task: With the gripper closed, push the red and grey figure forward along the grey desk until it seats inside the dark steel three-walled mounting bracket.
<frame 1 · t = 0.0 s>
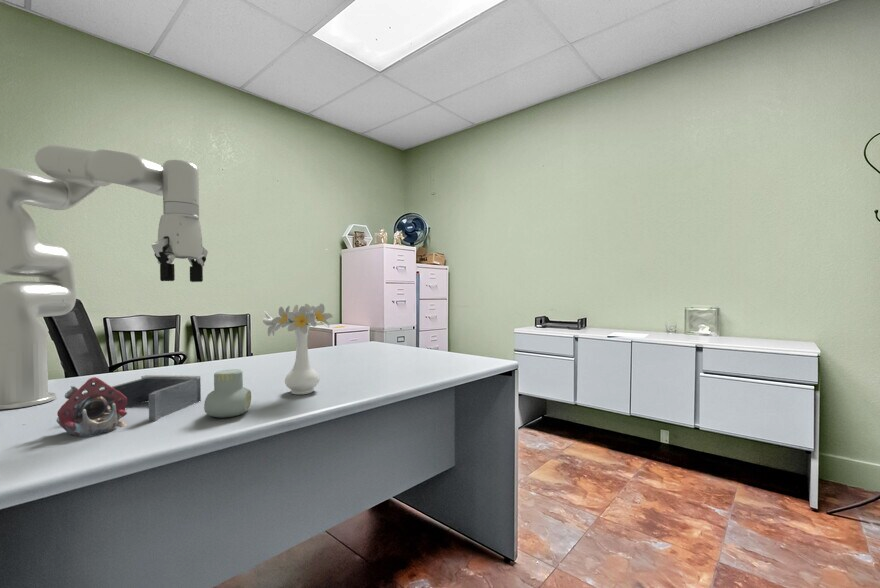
hand: (182, 281, 99), 31 cm above the table, tool pointing down, fingers open, 9 cm apart
bracket: (152, 408, 98), on the table
flower vase: (299, 393, 112), on the table
red and grey figure: (93, 431, 83), on the table
grey rounded piece: (229, 415, 93), on the table
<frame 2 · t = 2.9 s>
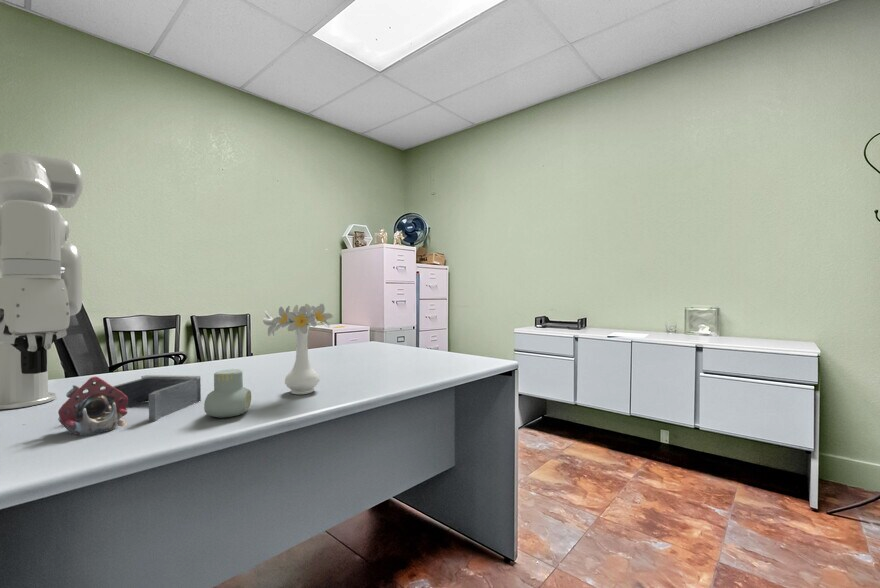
hand: (34, 372, 72), 14 cm above the table, tool pointing down, fingers closed
nothing on the table moved.
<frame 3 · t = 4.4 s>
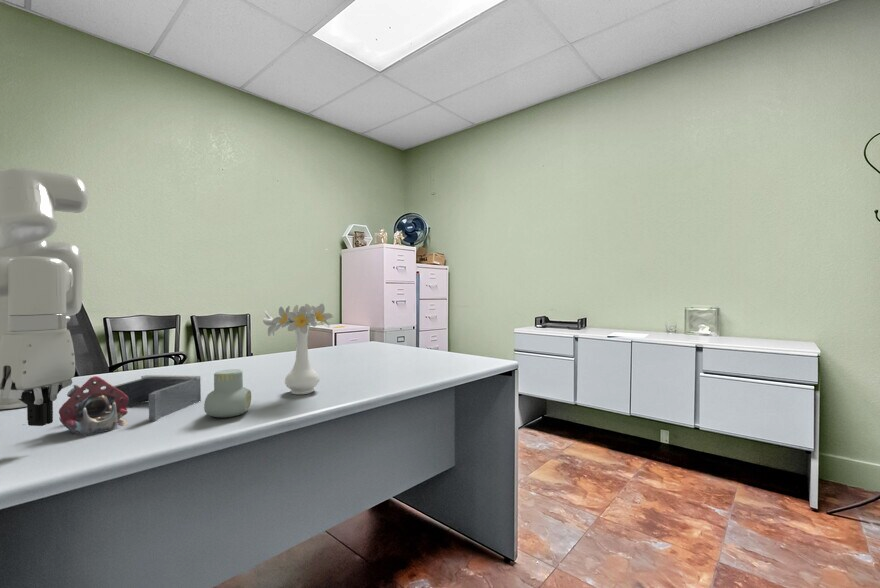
hand: (40, 424, 73), 5 cm above the table, tool pointing down, fingers closed
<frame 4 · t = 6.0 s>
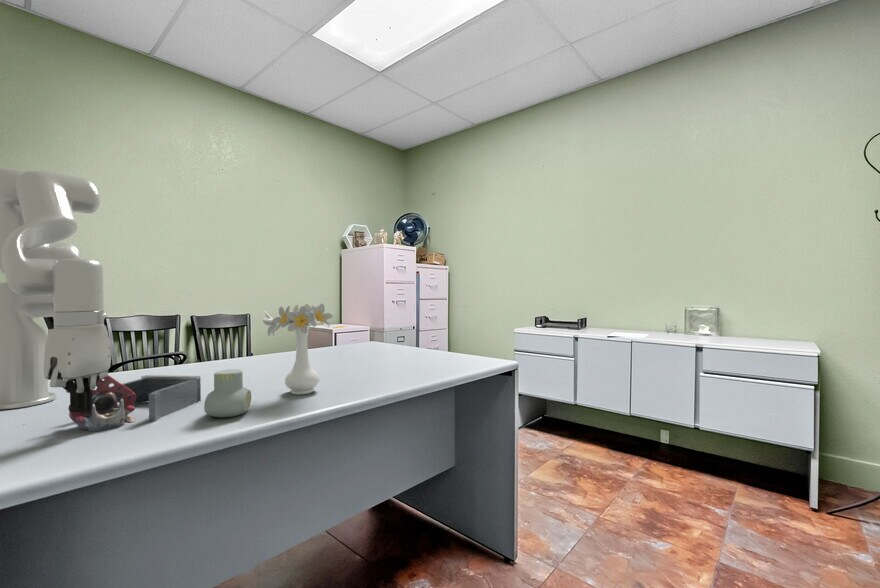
hand: (81, 410, 81), 5 cm above the table, tool pointing down, fingers closed
red and grey figure: (103, 425, 87), on the table, touching gripper
everything else where it was.
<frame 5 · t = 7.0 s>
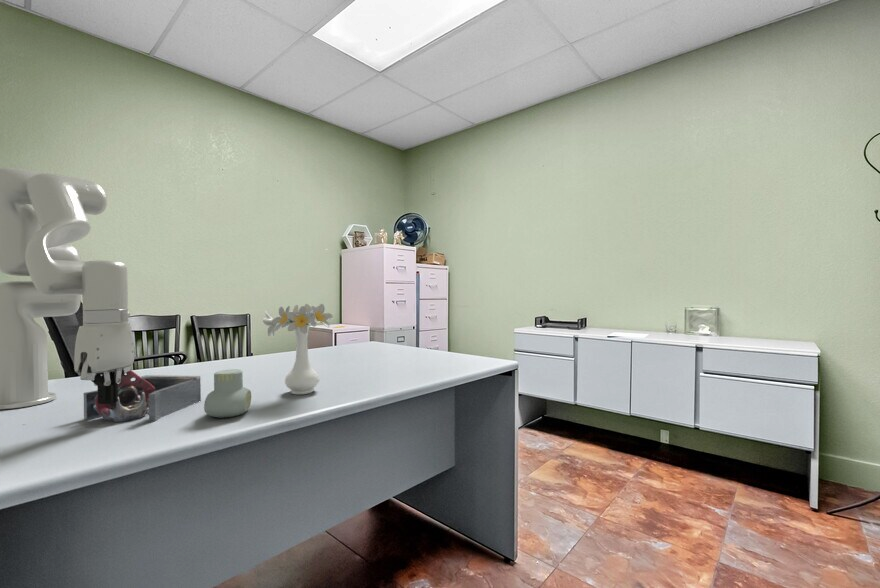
hand: (107, 402, 86), 5 cm above the table, tool pointing down, fingers closed
red and grey figure: (125, 417, 92), on the table, touching gripper
everything else where it was.
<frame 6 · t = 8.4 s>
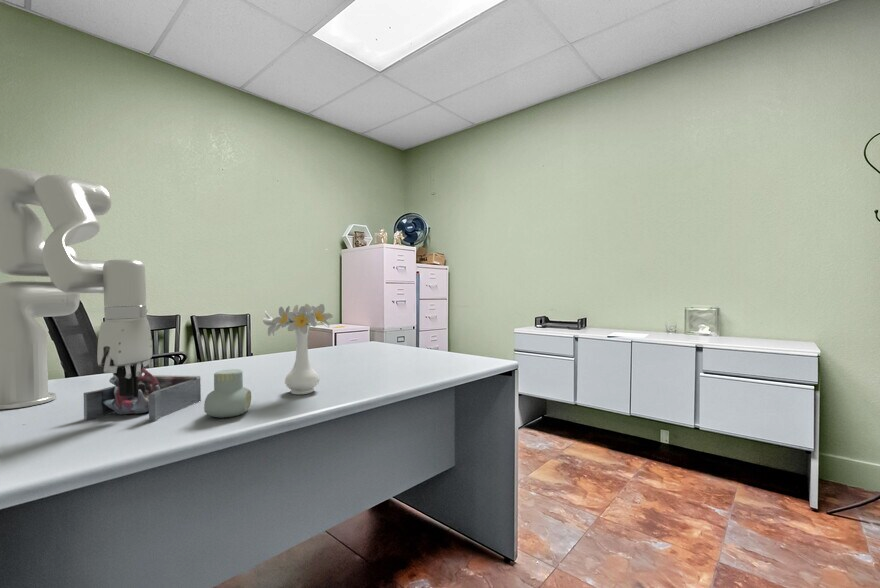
hand: (128, 394, 91), 5 cm above the table, tool pointing down, fingers closed
red and grey figure: (137, 410, 96), on the table, touching bracket, gripper
everything else where it was.
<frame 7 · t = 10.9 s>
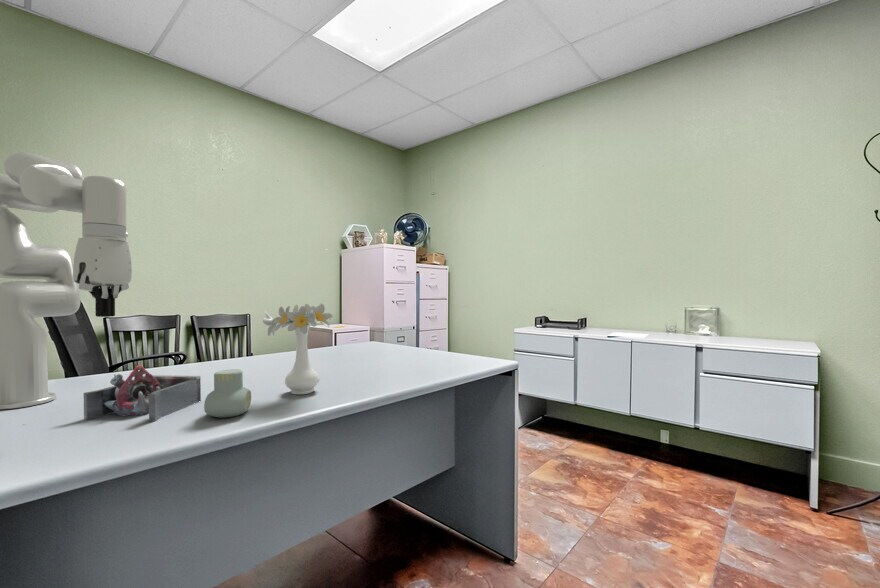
hand: (105, 316, 89), 23 cm above the table, tool pointing down, fingers closed
red and grey figure: (137, 411, 96), on the table
everything else where it was.
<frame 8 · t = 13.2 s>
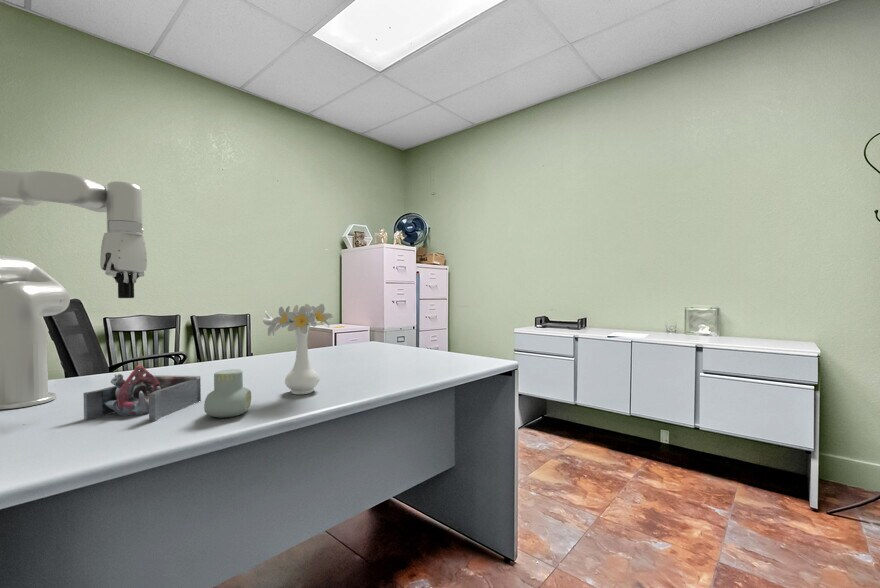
hand: (126, 297, 107), 27 cm above the table, tool pointing down, fingers closed
nothing on the table moved.
at the end: red and grey figure inside the target area (2.4 cm from its centre), on the table; red and grey figure tilted 0° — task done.
